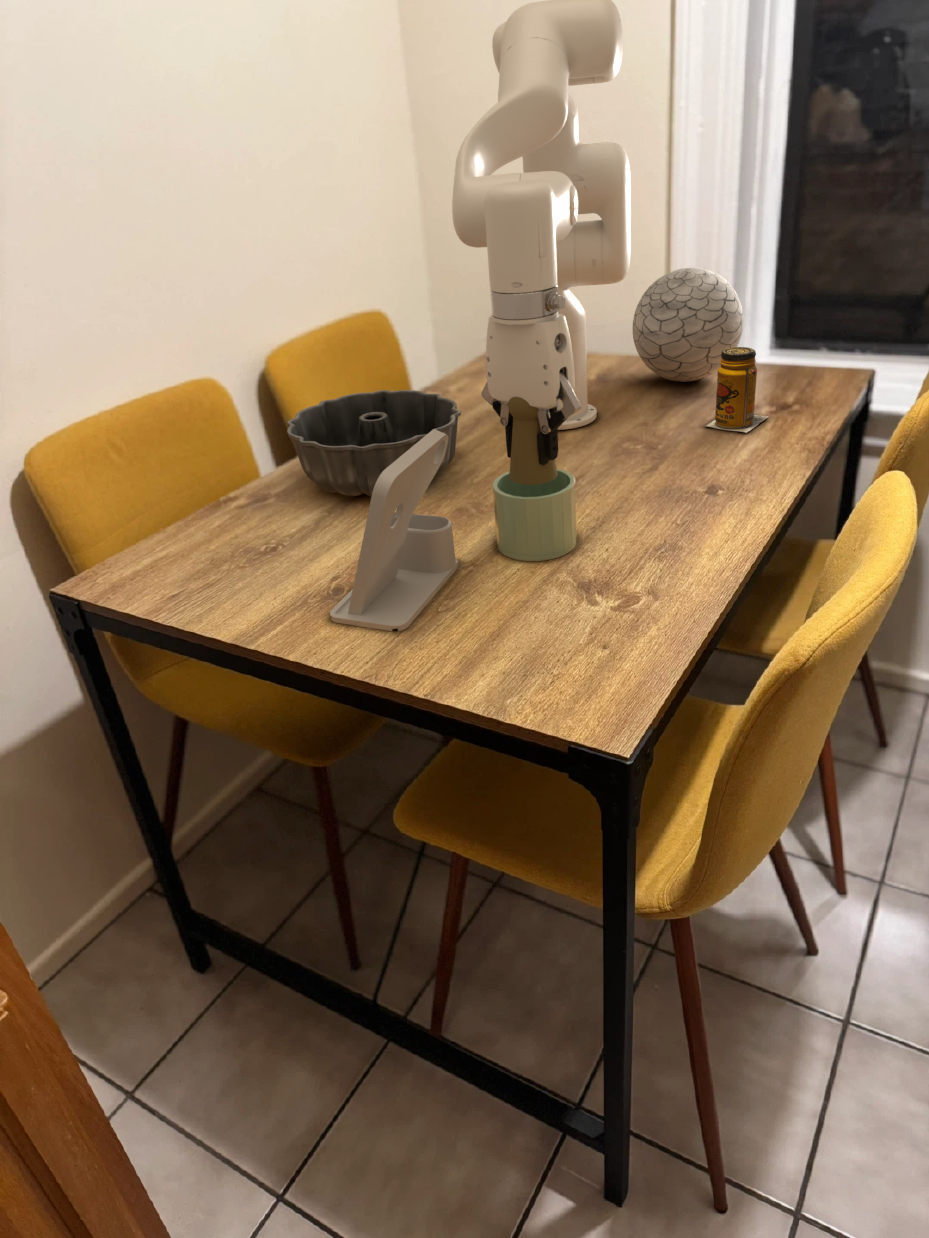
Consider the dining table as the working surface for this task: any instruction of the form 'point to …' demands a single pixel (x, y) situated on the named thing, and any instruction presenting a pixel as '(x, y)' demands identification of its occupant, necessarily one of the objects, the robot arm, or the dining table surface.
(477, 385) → the dining table surface
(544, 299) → the robot arm
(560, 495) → the cup
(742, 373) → the condiment
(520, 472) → the brown game pawn
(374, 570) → the phone holder
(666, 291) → the decorative sphere
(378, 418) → the bundt pan
